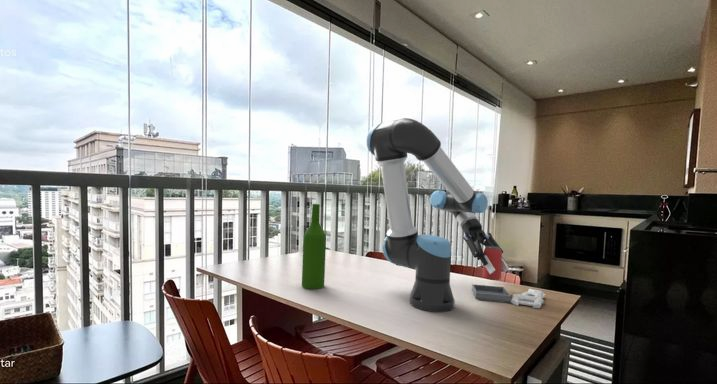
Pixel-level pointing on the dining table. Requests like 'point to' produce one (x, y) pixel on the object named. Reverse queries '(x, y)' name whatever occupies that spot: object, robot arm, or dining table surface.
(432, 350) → the dining table surface
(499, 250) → the beer can
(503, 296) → the can tray
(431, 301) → the robot arm
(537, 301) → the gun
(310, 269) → the wine bottle
